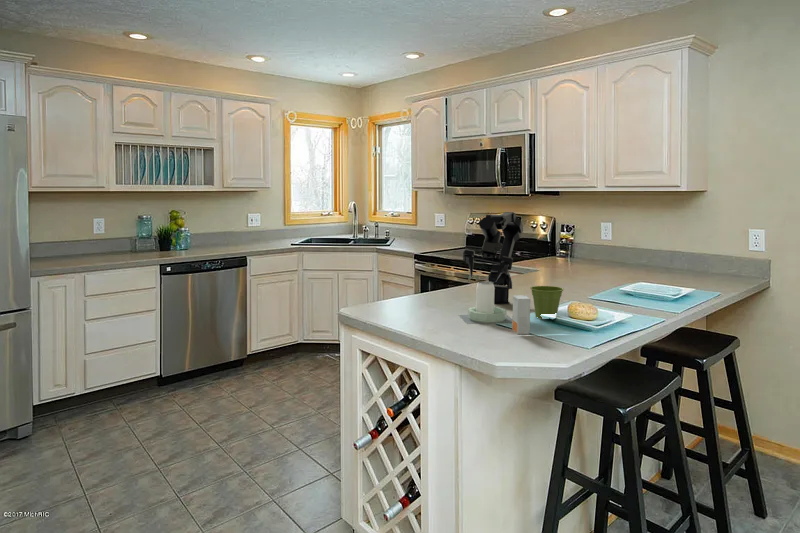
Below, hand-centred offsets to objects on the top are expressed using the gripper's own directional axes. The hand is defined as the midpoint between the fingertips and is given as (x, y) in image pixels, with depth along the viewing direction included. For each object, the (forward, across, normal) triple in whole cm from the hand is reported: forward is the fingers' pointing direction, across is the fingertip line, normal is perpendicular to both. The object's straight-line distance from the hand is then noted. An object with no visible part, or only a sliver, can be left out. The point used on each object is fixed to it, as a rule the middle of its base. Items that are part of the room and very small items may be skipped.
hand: (483, 279), depth 208 cm
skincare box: (+24, +17, -16) cm, 33 cm away
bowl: (+16, +4, -2) cm, 17 cm away
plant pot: (+10, +25, +3) cm, 27 cm away
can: (+15, +4, -1) cm, 15 cm away
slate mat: (+16, +5, -2) cm, 17 cm away
